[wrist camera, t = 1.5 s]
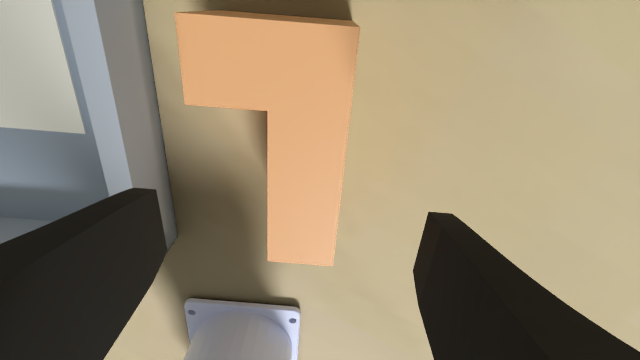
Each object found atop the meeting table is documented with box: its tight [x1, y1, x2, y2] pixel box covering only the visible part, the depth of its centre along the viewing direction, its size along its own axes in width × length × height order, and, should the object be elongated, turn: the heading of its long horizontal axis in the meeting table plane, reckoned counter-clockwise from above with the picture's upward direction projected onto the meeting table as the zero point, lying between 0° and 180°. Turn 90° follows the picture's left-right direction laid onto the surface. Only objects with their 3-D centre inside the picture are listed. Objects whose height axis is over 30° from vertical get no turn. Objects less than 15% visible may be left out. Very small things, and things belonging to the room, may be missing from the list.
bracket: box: [174, 10, 360, 266], centre depth 15 cm, size 10×6×5 cm, turn 176°
